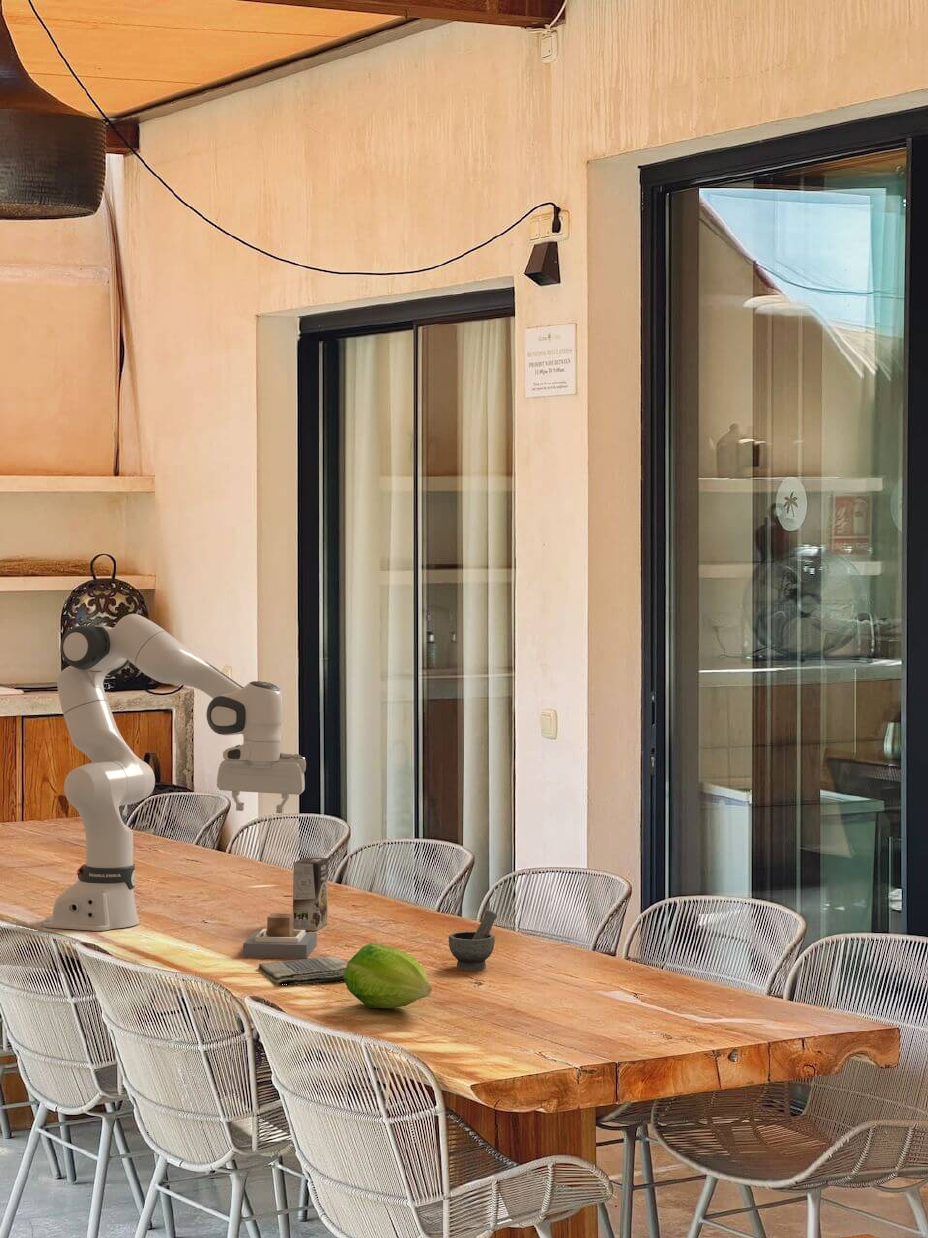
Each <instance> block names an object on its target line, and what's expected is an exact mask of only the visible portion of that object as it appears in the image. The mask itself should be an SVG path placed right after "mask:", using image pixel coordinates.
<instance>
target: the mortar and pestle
mask: <svg viewBox="0 0 928 1238" xmlns="http://www.w3.org/2000/svg"><path fill="white" fill-rule="evenodd" d="M497 918H498V914H497V913H495V912H494V911H492V910H488V909H486V910H484V917H483V919H482V920H481V922H480V924H479V925H478V927H477V929H476V931H461V932H460V931H459V932H453V933H451V934H449V935H448V946H449V950H450V952H451V954H452V956H453V957H454V958H455V959H456V960H457V963H456V969H458V970H460V971H466V972H468V971H469V972H478V971H483V970H485V969H487V964H486V960H487V959H488V958H490V956H491V955H492V953H493V951H494V948H495V943H496V942H495V940H496V939H495V935H493V934H492V933H491V930H492V927H493V925H494V922H495V920H496V919H497Z"/></svg>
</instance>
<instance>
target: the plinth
mask: <svg viewBox="0 0 928 1238" xmlns="http://www.w3.org/2000/svg"><path fill="white" fill-rule="evenodd" d="M317 934H318V933H317V932H307V931H306V930H294V929H293V937H267V928H262V929H261V931H260V930H259V931H257V930H255V931H254V932H253V933H252V934H251V935H250V936H249V937H248V938H247V939H246V940H245V941H244V942H243V943H242V946H243V947H242V957H243V958H261V959H262V958H265V959H266V958H267V959H272V958H273V959H296V960H298V959H300V960H301V959H308V958H309V956H310V955H311V954H312V952H313V951H314V950H315V948H317V943H318V941H317Z"/></svg>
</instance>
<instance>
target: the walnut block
mask: <svg viewBox="0 0 928 1238" xmlns="http://www.w3.org/2000/svg"><path fill="white" fill-rule="evenodd" d="M293 916H294V914H293V913H277V912H275V913H274V912H272V913H270V914H269V915H268V916H267V919H266V920H267V921H266V922H267V923H266V929H267V937H293V930H294V929H293Z"/></svg>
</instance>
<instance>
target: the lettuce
mask: <svg viewBox="0 0 928 1238" xmlns="http://www.w3.org/2000/svg"><path fill="white" fill-rule="evenodd" d="M344 980H345V981H344V982H345V986H346V989H347V990H348V991H349V992H350V993H351V994H352V995H353V996H354V997H355V998H356V999H357V1000H359V1001H360V1002H361V1003H362V1004H363V1005H364V1006H366V1007H367V1008H368V1009H395V1008H401V1007H406V1006H409V1005H411V1004H413V1003H415V1002H416V1001H418V1000H420V999H421V1000H422V999H424V998H427V997H429V996H430V995H431V993H432V990H433V986H432V983H431V982H430V980H429V978H428V975H427V972H426V971H425V969H424V967H422V965H421V964H420V962H419V961H418V960H417V958H416V957H414V956H413V955H410V954H408V953H406V952H404V951H401V950H400V949H398V948H396V947H391V946H390V947H389V946H385V945H383V944H380V943H374V942H372V943H371V942H370V943H368V944H365V945H363V946H362V947H361V948H360V949H359V950H358V951H357V952H356V953H355V954H354V955H353V956H352V958H351V959H349V961H348V962H347V967H346V970H345V974H344Z"/></svg>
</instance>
